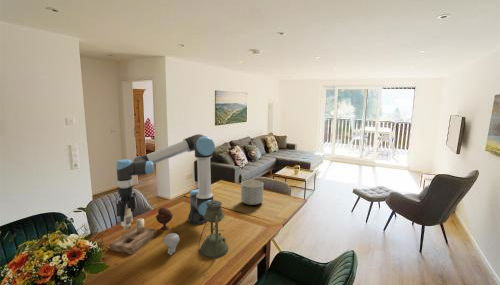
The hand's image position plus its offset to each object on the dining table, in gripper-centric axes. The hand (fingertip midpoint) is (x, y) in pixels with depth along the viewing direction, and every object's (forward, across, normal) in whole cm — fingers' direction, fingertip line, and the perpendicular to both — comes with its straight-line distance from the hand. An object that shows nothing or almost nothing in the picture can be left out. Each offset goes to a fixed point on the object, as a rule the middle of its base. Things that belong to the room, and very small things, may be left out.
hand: (127, 223), depth 150 cm
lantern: (+15, -12, +50) cm, 54 cm away
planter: (+14, -86, +54) cm, 103 cm away
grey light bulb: (+15, -1, +29) cm, 33 cm away
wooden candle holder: (+15, -5, 0) cm, 16 cm away
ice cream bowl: (+15, -25, +8) cm, 30 cm away
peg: (+3, 0, 0) cm, 3 cm away
